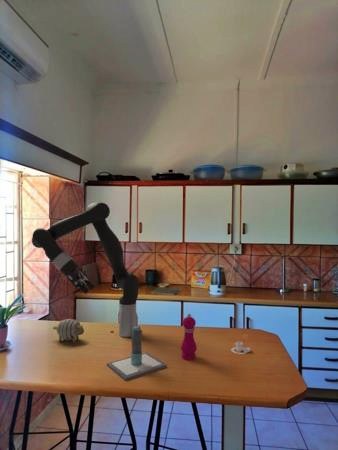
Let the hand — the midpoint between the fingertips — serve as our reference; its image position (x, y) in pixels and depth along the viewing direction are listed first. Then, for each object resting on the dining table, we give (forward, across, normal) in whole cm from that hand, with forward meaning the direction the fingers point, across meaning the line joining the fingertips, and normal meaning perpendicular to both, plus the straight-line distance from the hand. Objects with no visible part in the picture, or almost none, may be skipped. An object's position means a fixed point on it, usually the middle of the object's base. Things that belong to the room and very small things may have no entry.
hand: (90, 290), depth 143 cm
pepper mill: (+53, +4, -10) cm, 54 cm away
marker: (+36, -6, +5) cm, 37 cm away
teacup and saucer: (+72, +11, -27) cm, 77 cm away
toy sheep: (+10, +21, +34) cm, 41 cm away
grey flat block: (+37, -6, +6) cm, 38 cm away
